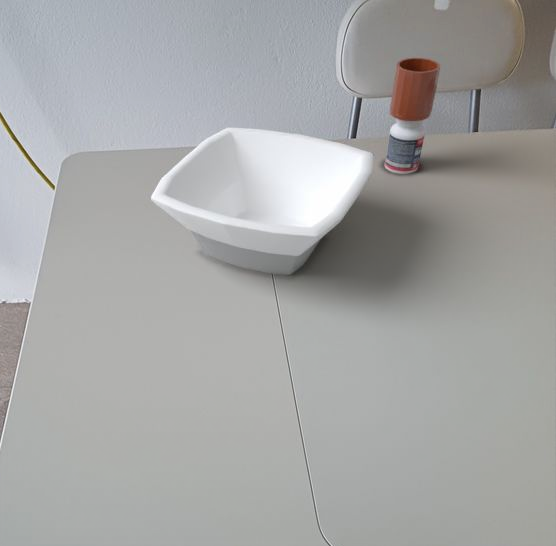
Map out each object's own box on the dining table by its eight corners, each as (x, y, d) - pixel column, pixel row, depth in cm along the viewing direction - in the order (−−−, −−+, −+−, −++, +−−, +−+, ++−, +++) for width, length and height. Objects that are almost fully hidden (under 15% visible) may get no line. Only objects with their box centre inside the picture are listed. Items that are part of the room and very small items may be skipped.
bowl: (376, 215, 93) (387, 148, 86) (316, 317, 77) (323, 245, 70) (225, 183, 102) (224, 120, 95) (142, 269, 86) (133, 200, 79)
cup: (410, 101, 100) (418, 54, 95) (439, 114, 96) (449, 66, 92) (381, 111, 98) (387, 63, 93) (409, 124, 94) (418, 75, 89)
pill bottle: (416, 177, 101) (427, 121, 95) (382, 173, 102) (391, 118, 96) (419, 161, 104) (429, 107, 98) (386, 158, 106) (394, 104, 100)
